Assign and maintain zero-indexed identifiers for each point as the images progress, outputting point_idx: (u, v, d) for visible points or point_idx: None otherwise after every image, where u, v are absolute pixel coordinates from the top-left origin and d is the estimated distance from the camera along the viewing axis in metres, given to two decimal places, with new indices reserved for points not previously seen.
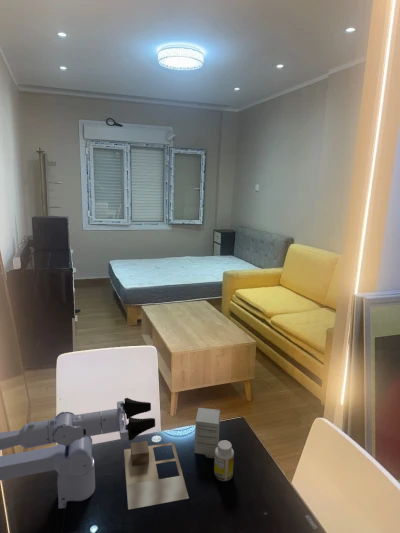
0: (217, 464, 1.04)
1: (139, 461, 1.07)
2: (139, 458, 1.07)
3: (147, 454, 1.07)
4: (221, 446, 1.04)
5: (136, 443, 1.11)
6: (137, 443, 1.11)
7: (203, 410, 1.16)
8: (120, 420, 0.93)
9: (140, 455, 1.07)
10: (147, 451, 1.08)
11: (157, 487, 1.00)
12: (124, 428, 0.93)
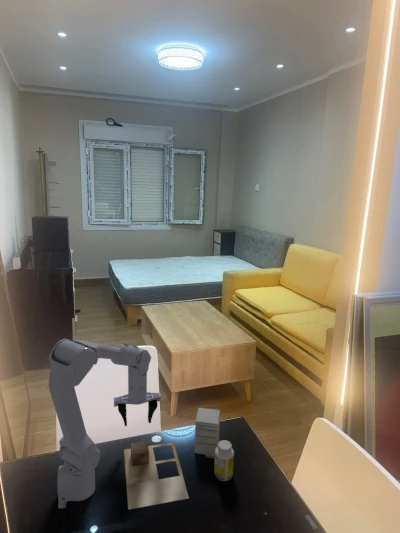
0: (217, 464, 1.04)
1: (139, 461, 1.07)
2: (139, 458, 1.07)
3: (147, 454, 1.07)
4: (221, 446, 1.04)
5: (136, 443, 1.11)
6: (137, 443, 1.11)
7: (203, 410, 1.16)
8: None
9: (140, 455, 1.07)
10: (147, 451, 1.08)
11: (157, 487, 1.00)
12: None
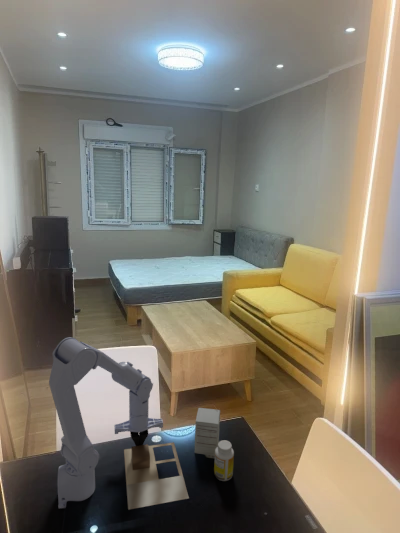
0: (217, 464, 1.04)
1: (140, 465, 1.06)
2: (140, 462, 1.05)
3: (148, 458, 1.06)
4: (221, 446, 1.04)
5: (137, 446, 1.09)
6: (138, 447, 1.09)
7: (203, 410, 1.16)
8: None
9: (140, 458, 1.05)
10: (148, 455, 1.06)
11: (157, 487, 1.00)
12: None
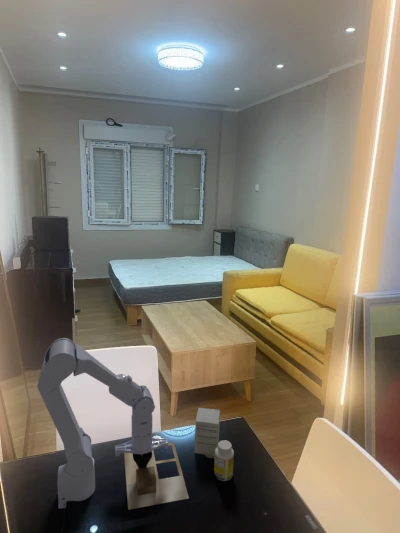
0: (217, 464, 1.04)
1: (145, 490, 0.97)
2: (145, 487, 0.97)
3: (154, 482, 0.97)
4: (221, 446, 1.04)
5: (142, 469, 1.01)
6: (143, 469, 1.01)
7: (203, 410, 1.16)
8: None
9: (146, 483, 0.97)
10: (154, 479, 0.98)
11: (157, 487, 1.00)
12: None
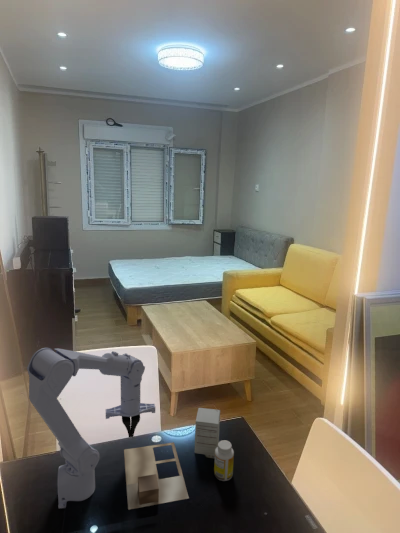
0: (217, 464, 1.04)
1: (147, 499, 0.94)
2: (147, 496, 0.94)
3: (157, 491, 0.95)
4: (221, 446, 1.04)
5: (144, 477, 0.98)
6: (145, 477, 0.98)
7: (203, 410, 1.16)
8: None
9: (148, 492, 0.94)
10: (156, 487, 0.95)
11: None
12: None
